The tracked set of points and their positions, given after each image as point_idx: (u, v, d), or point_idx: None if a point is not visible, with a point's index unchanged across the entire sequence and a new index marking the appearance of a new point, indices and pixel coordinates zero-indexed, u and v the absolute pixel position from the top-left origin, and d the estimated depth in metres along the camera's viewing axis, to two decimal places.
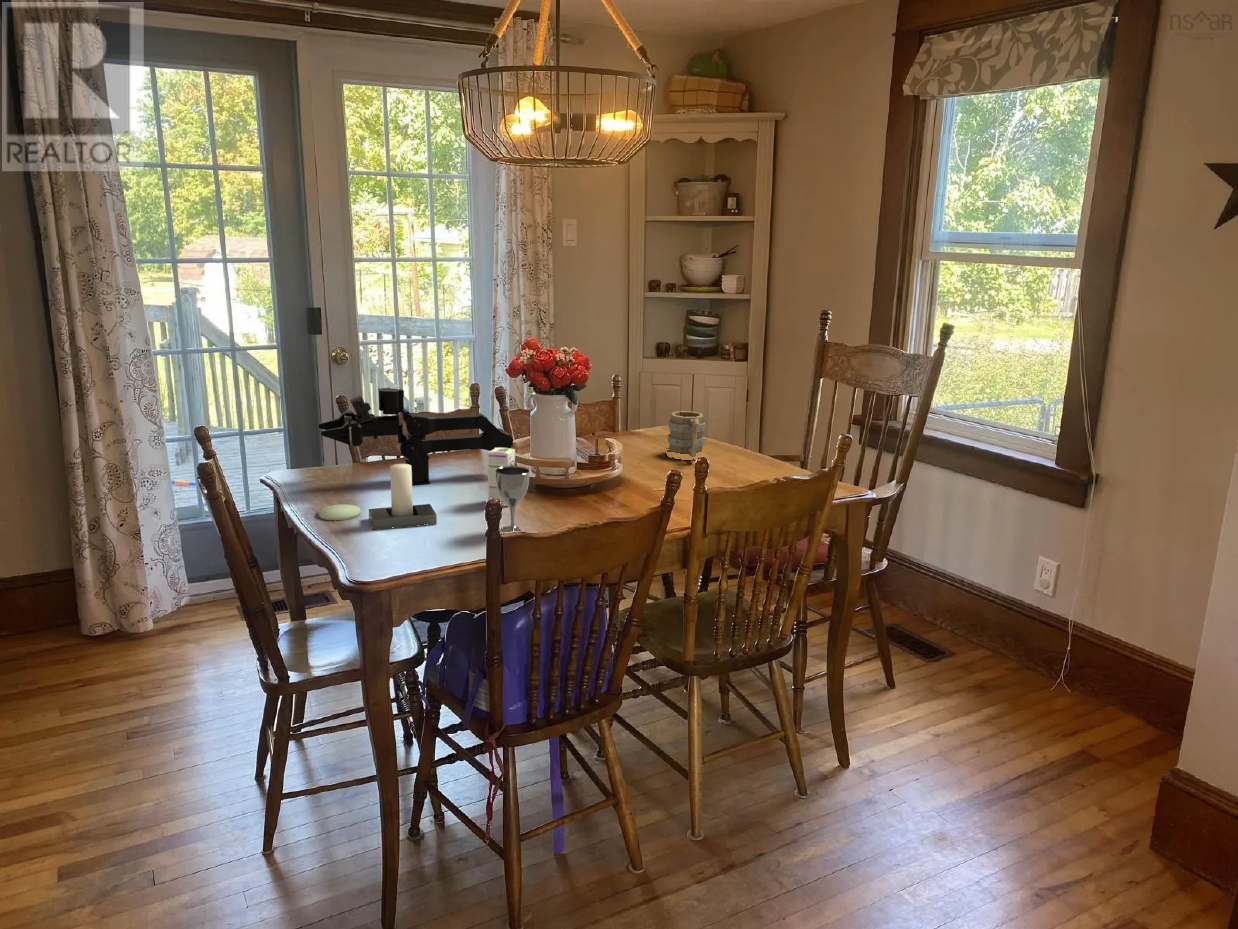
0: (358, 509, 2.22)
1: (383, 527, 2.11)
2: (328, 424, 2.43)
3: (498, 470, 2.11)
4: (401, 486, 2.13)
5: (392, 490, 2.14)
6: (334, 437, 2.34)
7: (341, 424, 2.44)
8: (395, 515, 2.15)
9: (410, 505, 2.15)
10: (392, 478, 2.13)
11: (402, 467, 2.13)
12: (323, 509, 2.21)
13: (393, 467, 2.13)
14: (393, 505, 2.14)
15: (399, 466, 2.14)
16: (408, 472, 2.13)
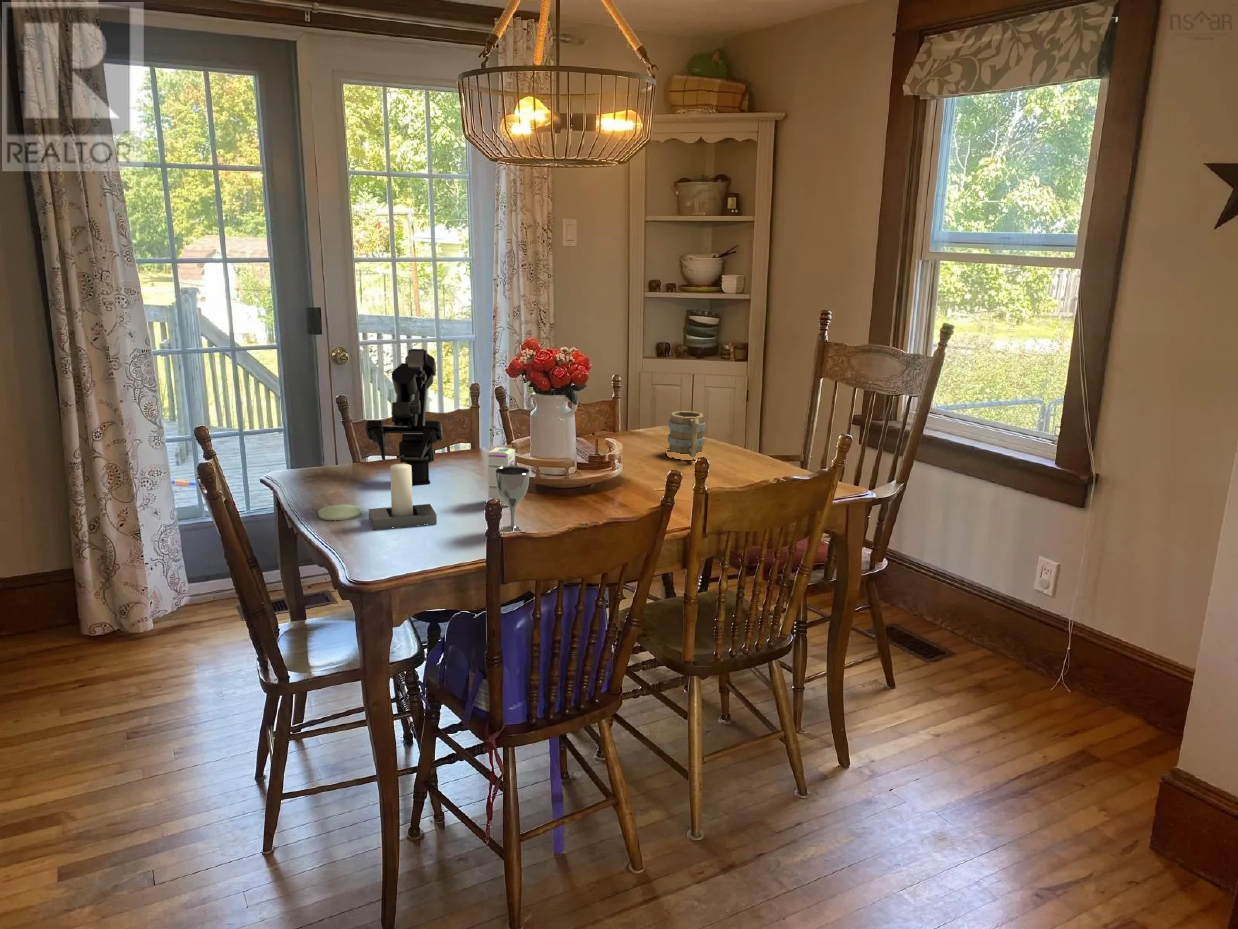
0: (358, 509, 2.22)
1: (383, 527, 2.11)
2: (383, 448, 2.22)
3: (498, 470, 2.11)
4: (401, 486, 2.13)
5: (392, 490, 2.14)
6: (426, 449, 2.25)
7: (383, 437, 2.24)
8: (395, 515, 2.15)
9: (410, 505, 2.15)
10: (392, 478, 2.13)
11: (402, 467, 2.13)
12: (323, 509, 2.21)
13: (393, 467, 2.13)
14: (393, 505, 2.14)
15: (399, 466, 2.14)
16: (408, 472, 2.13)
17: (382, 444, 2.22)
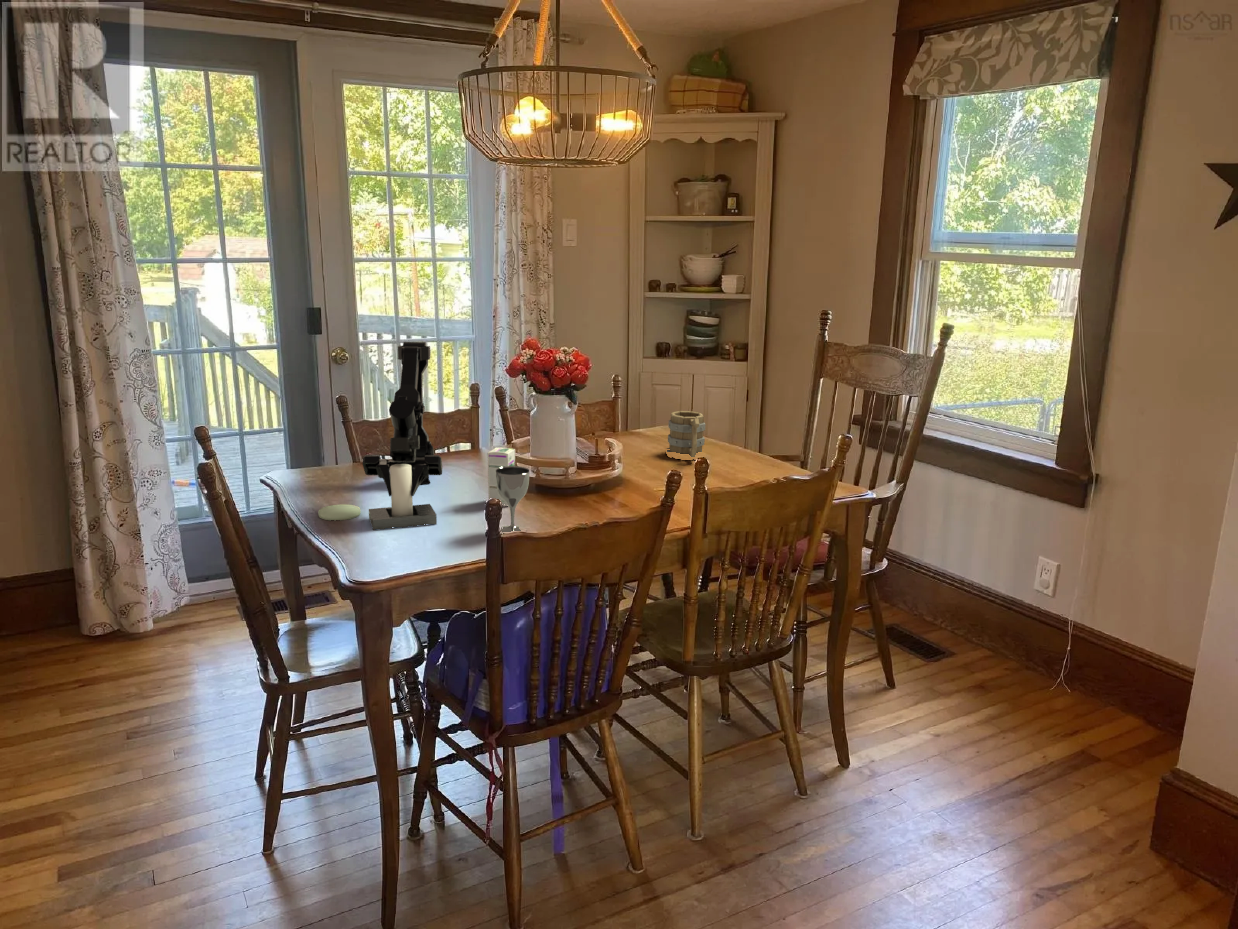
0: (358, 509, 2.22)
1: (383, 527, 2.11)
2: (389, 485, 2.15)
3: (498, 470, 2.11)
4: (401, 486, 2.13)
5: (392, 490, 2.14)
6: (418, 485, 2.17)
7: (389, 473, 2.17)
8: (395, 515, 2.15)
9: (410, 505, 2.15)
10: (392, 478, 2.13)
11: (402, 467, 2.13)
12: (323, 509, 2.21)
13: (393, 467, 2.13)
14: (393, 505, 2.14)
15: (399, 466, 2.14)
16: (408, 472, 2.13)
17: (388, 481, 2.15)
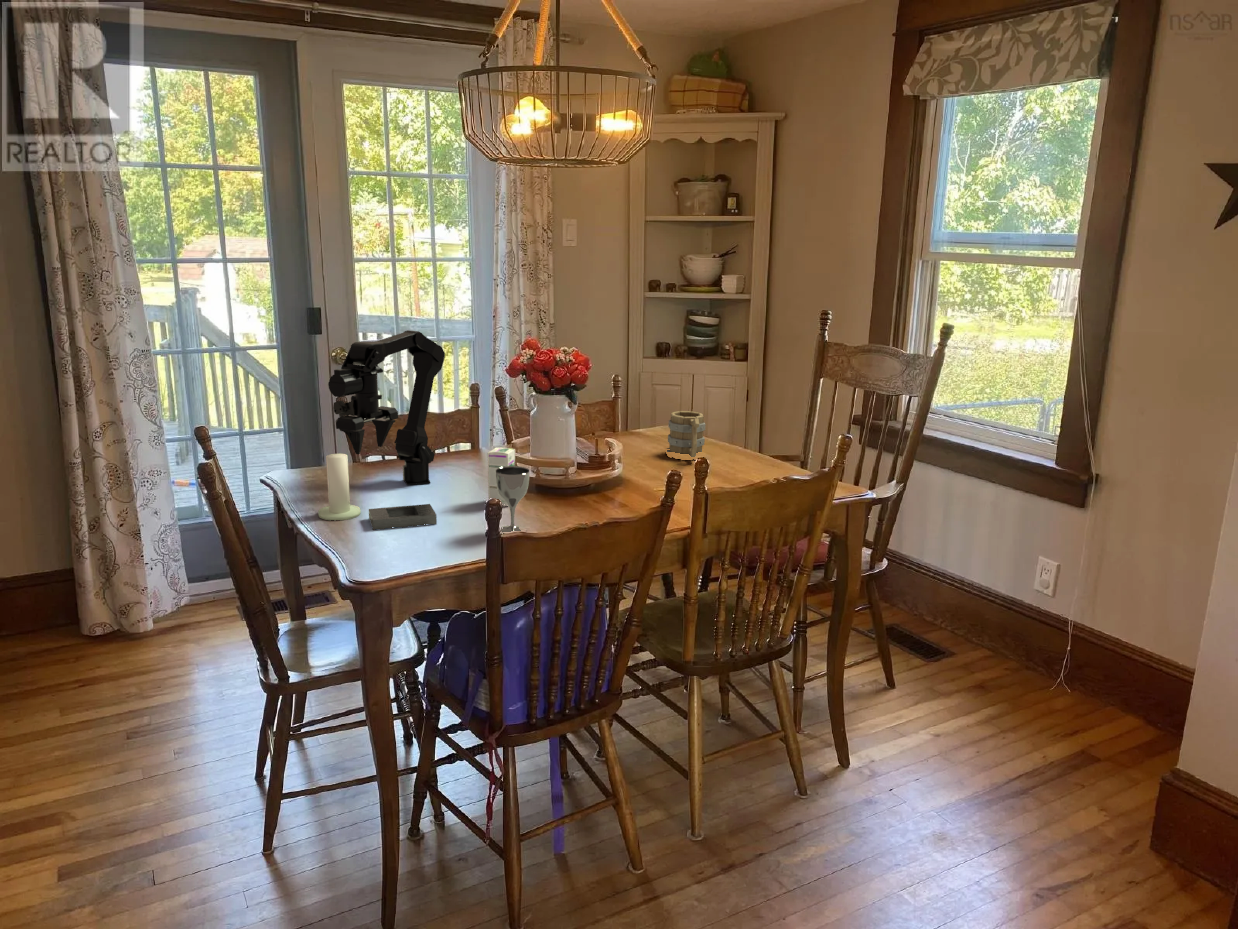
0: (358, 509, 2.22)
1: (383, 527, 2.11)
2: (379, 436, 2.36)
3: (498, 470, 2.11)
4: (331, 476, 2.16)
5: None
6: (357, 443, 2.26)
7: (380, 424, 2.35)
8: (329, 503, 2.19)
9: (342, 495, 2.18)
10: None
11: (335, 457, 2.17)
12: (323, 509, 2.21)
13: (329, 456, 2.17)
14: (328, 493, 2.19)
15: (335, 455, 2.18)
16: (338, 462, 2.16)
17: None
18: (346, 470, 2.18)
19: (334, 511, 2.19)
